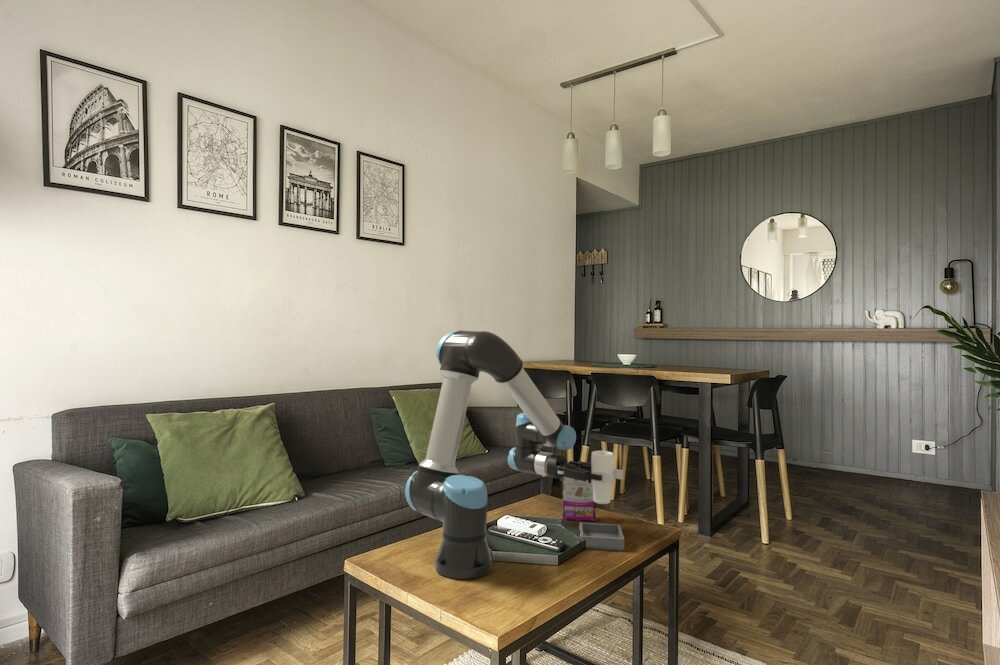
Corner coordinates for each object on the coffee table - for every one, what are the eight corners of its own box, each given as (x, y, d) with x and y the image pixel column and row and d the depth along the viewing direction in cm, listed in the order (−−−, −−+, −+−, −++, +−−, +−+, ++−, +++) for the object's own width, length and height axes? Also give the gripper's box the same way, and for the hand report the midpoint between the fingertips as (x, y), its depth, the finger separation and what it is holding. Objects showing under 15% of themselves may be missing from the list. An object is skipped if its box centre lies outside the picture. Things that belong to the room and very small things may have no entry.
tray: (580, 548, 165) (580, 536, 165) (579, 533, 177) (579, 522, 177) (624, 551, 163) (624, 539, 163) (619, 535, 176) (619, 524, 176)
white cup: (611, 499, 174) (612, 451, 173) (614, 506, 167) (615, 455, 167) (589, 498, 174) (590, 450, 174) (591, 504, 167) (592, 454, 167)
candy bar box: (594, 517, 194) (595, 469, 194) (595, 521, 189) (596, 473, 189) (562, 515, 195) (563, 468, 195) (562, 520, 190) (563, 471, 190)
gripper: (565, 471, 189) (630, 483, 175) (535, 482, 173) (603, 496, 160) (566, 448, 189) (631, 459, 175) (535, 458, 173) (604, 470, 160)
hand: (617, 477), depth 167 cm, fingers closed on white cup, 6 cm apart
